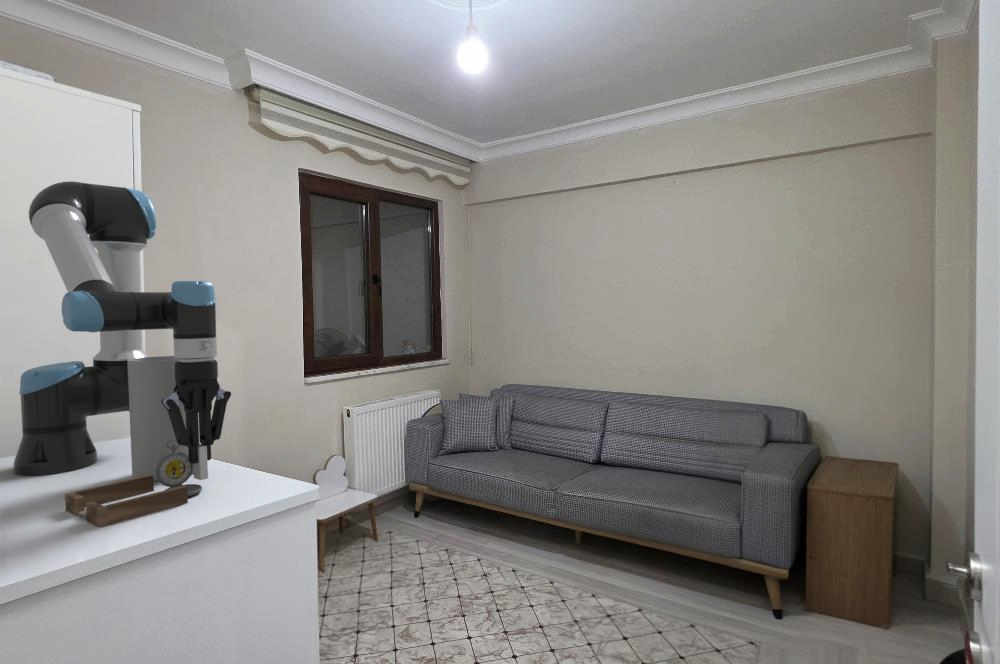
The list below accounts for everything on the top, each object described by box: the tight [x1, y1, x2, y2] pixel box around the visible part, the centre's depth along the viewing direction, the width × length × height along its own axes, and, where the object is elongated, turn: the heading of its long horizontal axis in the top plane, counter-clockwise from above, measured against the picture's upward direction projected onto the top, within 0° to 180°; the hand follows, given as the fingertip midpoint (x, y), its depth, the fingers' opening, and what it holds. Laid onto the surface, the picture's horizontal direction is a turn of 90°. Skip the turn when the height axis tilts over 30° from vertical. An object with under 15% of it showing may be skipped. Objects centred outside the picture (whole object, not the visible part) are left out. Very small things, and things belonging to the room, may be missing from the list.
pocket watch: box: [156, 440, 203, 498], centre depth 113 cm, size 8×8×10 cm
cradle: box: [64, 474, 189, 528], centre depth 105 cm, size 14×14×3 cm
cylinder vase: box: [127, 355, 193, 482], centre depth 126 cm, size 12×12×25 cm
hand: (200, 478), depth 116 cm, fingers closed
